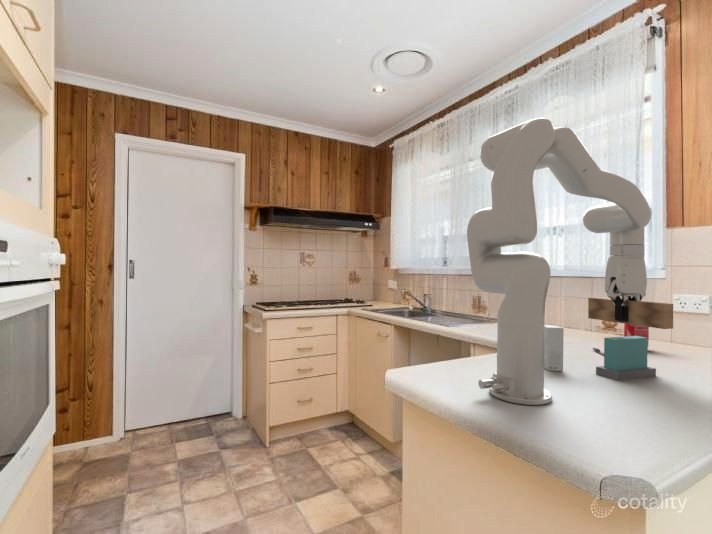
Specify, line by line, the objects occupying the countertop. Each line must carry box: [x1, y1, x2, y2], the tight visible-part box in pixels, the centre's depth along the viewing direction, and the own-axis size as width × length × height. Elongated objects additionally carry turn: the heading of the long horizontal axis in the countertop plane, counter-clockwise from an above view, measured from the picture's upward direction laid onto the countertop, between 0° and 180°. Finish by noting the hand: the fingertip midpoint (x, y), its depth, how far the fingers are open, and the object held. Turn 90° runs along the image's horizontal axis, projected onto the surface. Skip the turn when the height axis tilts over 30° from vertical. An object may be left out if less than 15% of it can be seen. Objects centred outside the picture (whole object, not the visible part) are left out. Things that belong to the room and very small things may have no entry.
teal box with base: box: [595, 336, 657, 381], centre depth 99 cm, size 14×6×10 cm, turn 109°
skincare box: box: [544, 324, 565, 372], centre depth 105 cm, size 6×4×12 cm
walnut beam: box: [587, 297, 674, 330], centre depth 99 cm, size 20×3×6 cm, turn 19°
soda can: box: [623, 323, 650, 350], centre depth 133 cm, size 7×7×12 cm
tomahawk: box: [592, 347, 604, 357], centre depth 119 cm, size 21×7×1 cm, turn 165°
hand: (626, 320), depth 99 cm, fingers closed on walnut beam, 3 cm apart
